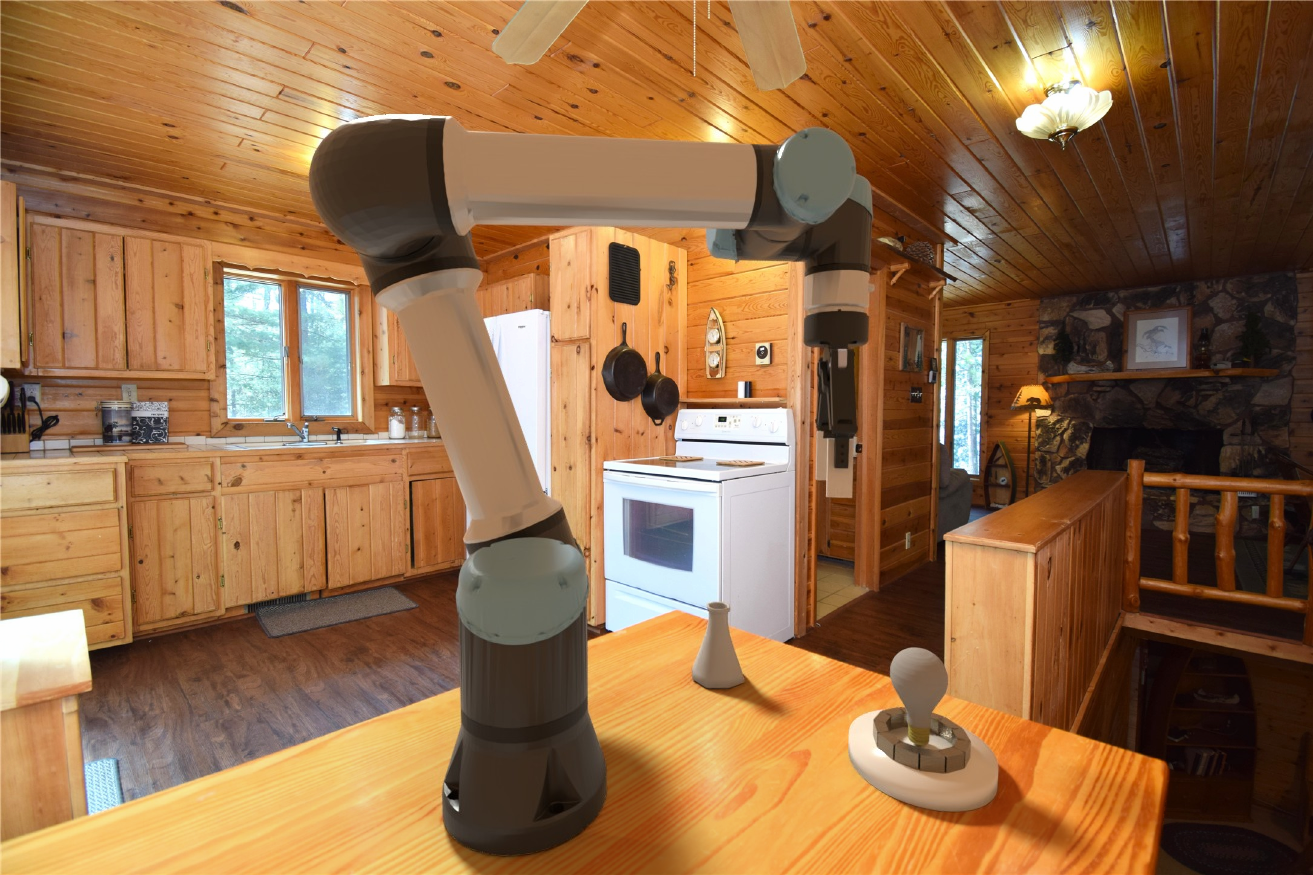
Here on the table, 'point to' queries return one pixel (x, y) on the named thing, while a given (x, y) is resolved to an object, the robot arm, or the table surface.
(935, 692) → the light bulb
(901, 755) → the socket collar
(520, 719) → the robot arm
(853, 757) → the socket base
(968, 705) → the table surface
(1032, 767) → the table surface
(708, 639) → the flask
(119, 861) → the table surface
